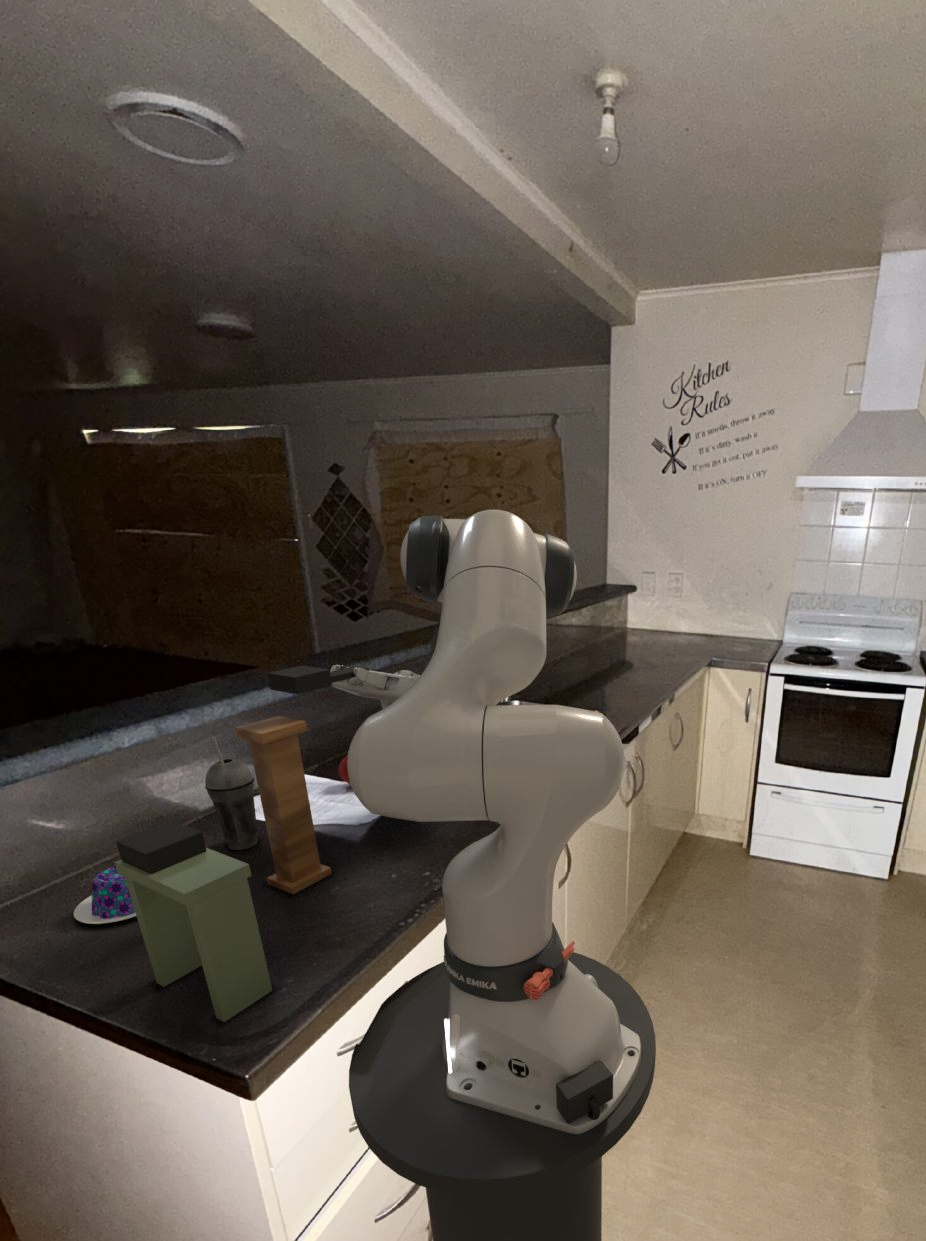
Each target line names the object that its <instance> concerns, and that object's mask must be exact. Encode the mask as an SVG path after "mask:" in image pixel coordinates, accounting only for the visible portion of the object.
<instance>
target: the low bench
mask: <svg viewBox="0 0 926 1241" xmlns="http://www.w3.org/2000/svg"><path fill="white" fill-rule="evenodd" d="M206 850H207V851H206V852H203V853H201V854H199V855H196V856H194V857H192V858H189V859H187V860H184V861H182V862H180V863H177V864H175V865H172V866H170V867H168V868H165V869H163V870H161V871H158V872H156V873H153V874H150V873H147V872H145V871H143V870H141V869H138V868H136V867H134V866H132V865H130V864H127V863H125V862H123V861H122V860H121V859H119V860H117V861H114V867H116V869H117V872H118V874H120V875H122V876H124V877H125V880H126V883H127V887H128V890H129V893H130V896H131V900H132V903H133V906H134V910H135V913H136V916H135V917H136V919H137V923H138V926H139V930H140V932H141V936H142V939H143V942H144V945H145V948H146V952H147V955H148V958H149V962H150V966H151V969H152V972H153V975H154V978H155V982H156V984H158V985H159V986H161V987H163V988H164V987H166V986H168V985H170V984H172V983H173V982H176V981H177V980H179V979H181V978H182V977H185V976H186V975H188V974H189V973H192V972H193V971H195V970H196V969H199V968H200V967H202V971H203V973H204V977H205V981H206V984H207V989H208V992H209V996H210V1000H211V1003H212V1007H213V1011H214V1014H215V1018H216V1019H217V1020H219V1021H221V1022H223V1023H226V1022H227V1021H229V1020H230V1019H231V1018H234V1017H235V1016H236V1015H237V1014H240V1013H241V1012H242V1011H244V1010H246V1009H247V1008H249V1007H250V1006H251V1005H253V1004H254V1003H256V1002H258V1001H259V1000H260V999H262V998H263V997H266V996H267V995H268V994H270V993H271V992H273V987H272V982H271V978H270V973H269V969H268V965H267V960H266V955H265V951H264V947H263V942H262V937H261V934H260V933H261V932H260V929H259V925H258V924H259V923H258V921H257V915H256V910H255V907H254V903H253V898H252V893H251V889H250V884H249V881H248V878H250V877H252V871H251V868H250V864H249V863H247V862H244V861H242V860H239V859H237V858H235V857H231V856H229V855H226V854H223V853H221V852H219V851H216V850H214V849H211V848H209V847H206Z"/></svg>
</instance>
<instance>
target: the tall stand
mask: <svg viewBox="0 0 926 1241" xmlns="http://www.w3.org/2000/svg"><path fill="white" fill-rule="evenodd" d="M234 731H235V736H236V739H241V740H245V741H248V744H249V749H250V754H251V759H252V763H253V768H254V769H253V770H254V773H255V778H256V783H257V789H258V794H259V797H260V802H261V807H262V812H263V816H264V821H265V827H266V831H267V837H268V841H269V846H270V847H269V848H270V851H271V856H272V861H273V865H274V870H275V873H273V874H272V875H270V876H267V877H266V883H267V885H268V886H271V887H274V888H276V889H278V890H281V891H283V892H286V893H288V894H291V895H296V894H297V893H299V892H301V891H303V890H304V889H306V888H308V887H311V886H312V885H314V884H316V883H318V882H320V881H322V880H323V879H325V878H327V877H329V876H331V875H332V874H333V873H332V868H331V867H330V866H328V865H325V864H322V863H321V861H320V855H319V848H318V844H317V838H316V832H315V827H314V821H313V815H312V810H311V805H310V804H311V803H310V798H309V792H308V787H307V786H308V785H307V781H306V776H305V770H304V769H305V768H304V764H303V758H302V753H301V747H300V742H299V736H298V734H302V733H305V732H308V726H307V722H306V720H301V719H297V718H292V717H287V716H281V715H275V716H273V717H269V718H265V719H262V720H257V721H255V722H254V721H253V722H251V723H246V724H243V725H239V726H235V727H234Z"/></svg>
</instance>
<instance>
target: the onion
mask: <svg viewBox="0 0 926 1241" xmlns="http://www.w3.org/2000/svg"><path fill="white" fill-rule="evenodd" d="M348 752H349V750H348V751H347V753H348ZM347 759H348V754H347V755H346V756H345V757H344V758H343V759H342V760H341V761H340V764H339V766H338V775H339V777H340V778H341V779H342V781H344V782H345V783H347V784H349V785H351V783H350V780H349V776H348V769H347Z"/></svg>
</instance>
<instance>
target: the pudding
mask: <svg viewBox="0 0 926 1241" xmlns="http://www.w3.org/2000/svg"><path fill="white" fill-rule="evenodd" d="M72 915H73V917H74V919H75V920H76V921H78V922H79V923H83V924H89V925H90V924H92V925H101V924H110V923H115V922H119V921H125V920H128V919H131V918H134V917H137V916H136V913H135V910H134V906H133V903H132V900H131V896H130V893H129V890H128V887H127V883H126V880H125V877H124V876H122V875H120V874H118V872H117V869H116V866H112V867H109V868H106V869H105V870H104V871H101V872H99V873H97V874H96V875H95V877H94V879H93V880H92V884H91V895H90V896H88V897H86V898H85V899H84V900H82V901H81V902H80V903H79V904H77V906H76V907H75V909H74V910H73V914H72Z"/></svg>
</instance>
